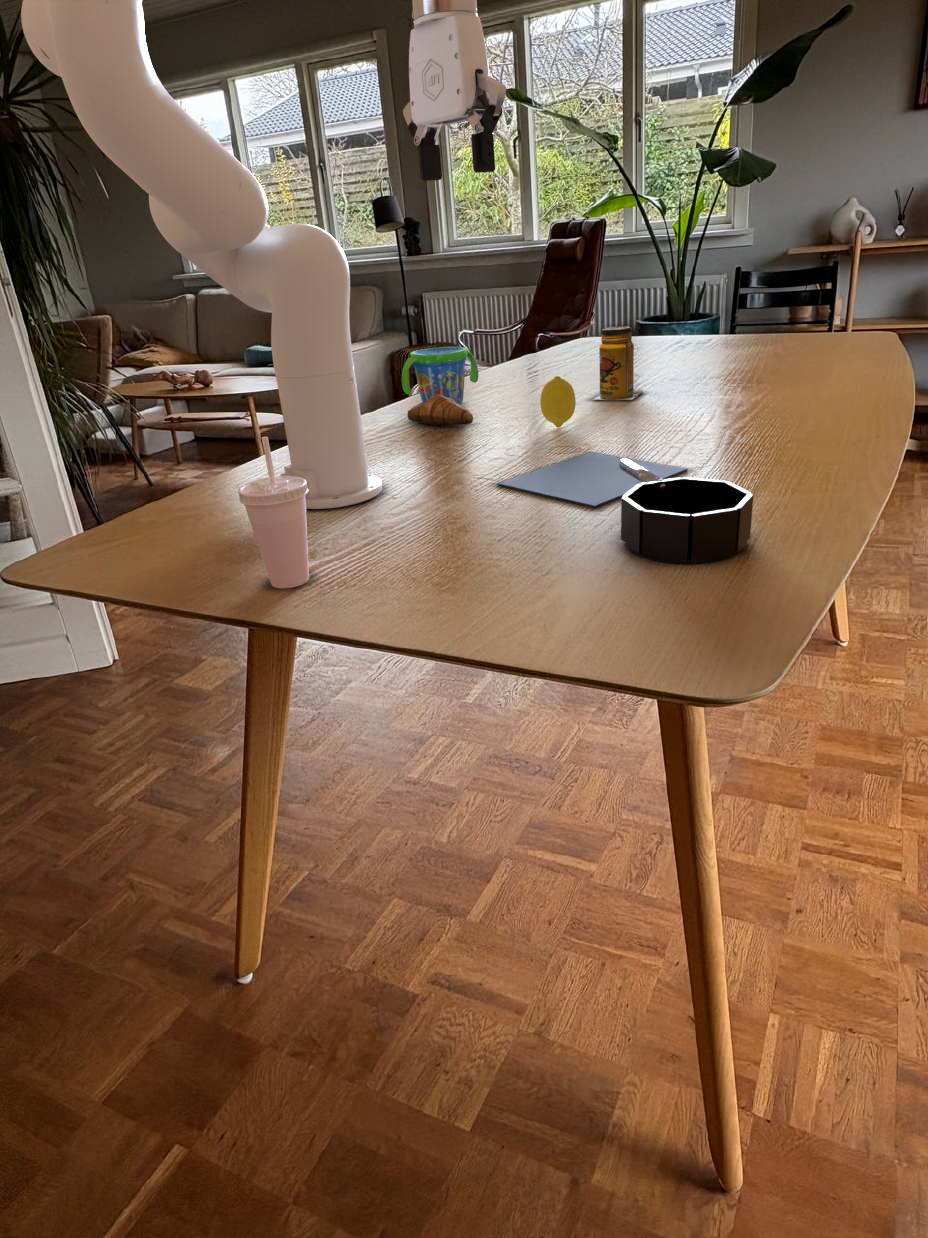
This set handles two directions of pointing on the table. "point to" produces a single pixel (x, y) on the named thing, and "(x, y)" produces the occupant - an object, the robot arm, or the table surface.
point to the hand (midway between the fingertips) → (457, 176)
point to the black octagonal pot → (684, 517)
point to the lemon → (557, 401)
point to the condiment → (617, 364)
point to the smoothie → (279, 524)
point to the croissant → (440, 412)
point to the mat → (586, 479)
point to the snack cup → (440, 372)
